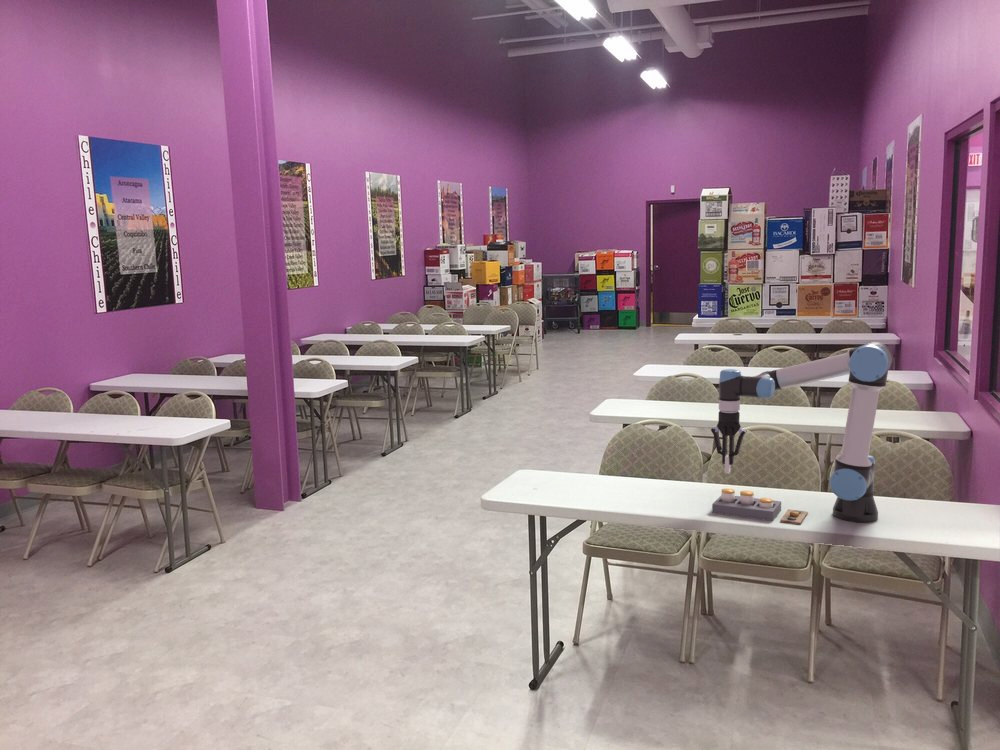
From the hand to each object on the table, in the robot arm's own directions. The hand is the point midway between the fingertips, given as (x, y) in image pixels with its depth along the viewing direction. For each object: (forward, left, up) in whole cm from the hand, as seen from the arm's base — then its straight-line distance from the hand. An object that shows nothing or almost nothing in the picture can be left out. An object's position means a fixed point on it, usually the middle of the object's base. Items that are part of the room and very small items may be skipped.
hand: (727, 472), depth 306 cm
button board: (-7, 0, -14) cm, 16 cm away
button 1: (0, 0, -11) cm, 11 cm away
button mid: (-7, 0, -11) cm, 13 cm away
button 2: (-14, 0, -13) cm, 19 cm away
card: (-24, 0, -14) cm, 28 cm away
